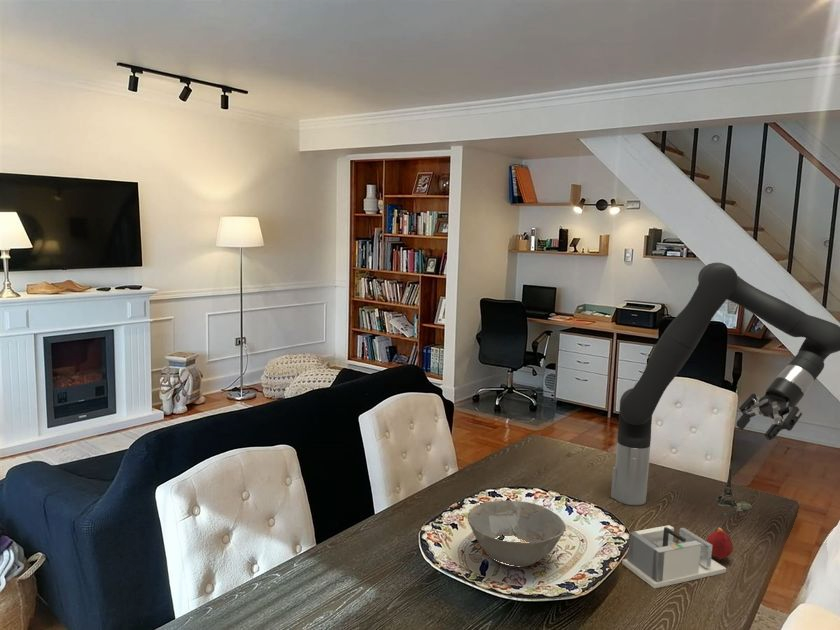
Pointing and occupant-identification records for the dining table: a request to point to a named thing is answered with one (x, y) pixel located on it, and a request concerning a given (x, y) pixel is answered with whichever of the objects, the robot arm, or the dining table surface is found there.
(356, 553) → the dining table surface
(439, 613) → the dining table surface
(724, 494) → the eiffel tower figurine
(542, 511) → the ceramic bowl
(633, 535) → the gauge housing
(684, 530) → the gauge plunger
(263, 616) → the dining table surface
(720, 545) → the red pomegranate
